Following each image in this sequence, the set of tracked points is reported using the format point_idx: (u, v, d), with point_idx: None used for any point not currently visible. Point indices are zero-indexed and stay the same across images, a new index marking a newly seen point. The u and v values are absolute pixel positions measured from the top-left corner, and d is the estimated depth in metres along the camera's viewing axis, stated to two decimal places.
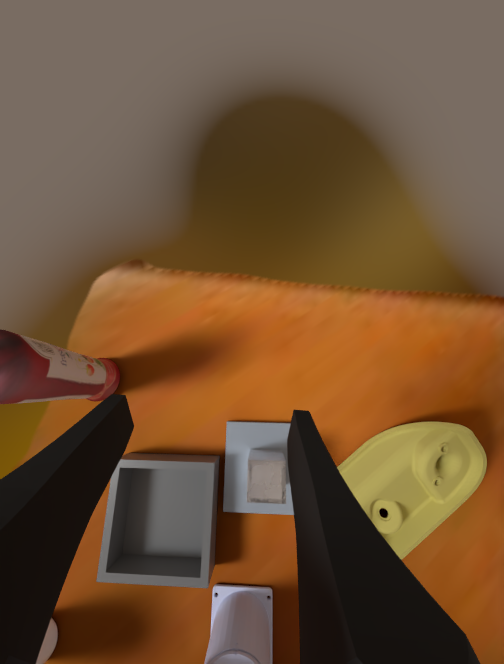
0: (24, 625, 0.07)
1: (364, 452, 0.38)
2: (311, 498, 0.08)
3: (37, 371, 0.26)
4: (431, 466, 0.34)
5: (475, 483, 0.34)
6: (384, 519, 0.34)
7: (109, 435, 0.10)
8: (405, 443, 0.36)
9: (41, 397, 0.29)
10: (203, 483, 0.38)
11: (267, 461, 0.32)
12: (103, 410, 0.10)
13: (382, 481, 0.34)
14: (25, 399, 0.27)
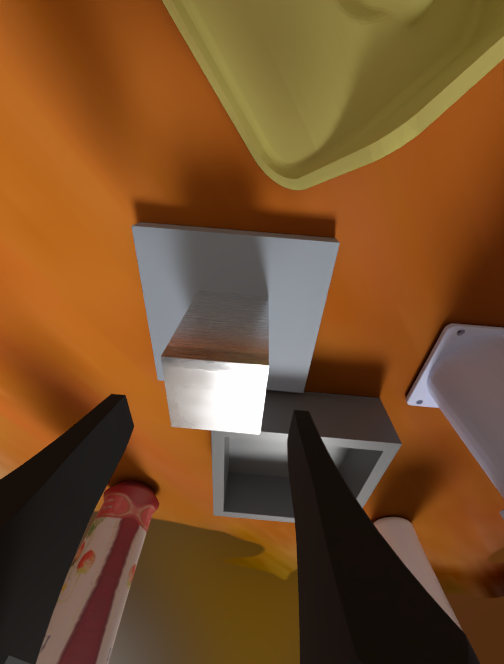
0: (24, 625, 0.07)
1: (188, 4, 0.11)
2: (311, 498, 0.08)
3: None
4: None
5: None
6: None
7: (109, 435, 0.10)
8: None
9: (91, 663, 0.21)
10: None
11: (168, 393, 0.12)
12: (103, 410, 0.10)
13: None
14: None
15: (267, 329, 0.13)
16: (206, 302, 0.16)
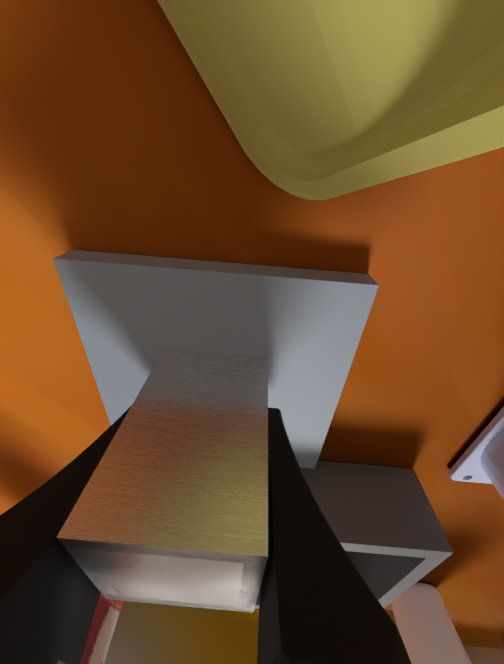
0: (71, 629, 0.07)
1: None
2: (270, 494, 0.08)
3: None
4: None
5: None
6: None
7: None
8: None
9: None
10: None
11: (89, 572, 0.07)
12: None
13: None
14: None
15: (265, 437, 0.08)
16: (172, 374, 0.10)
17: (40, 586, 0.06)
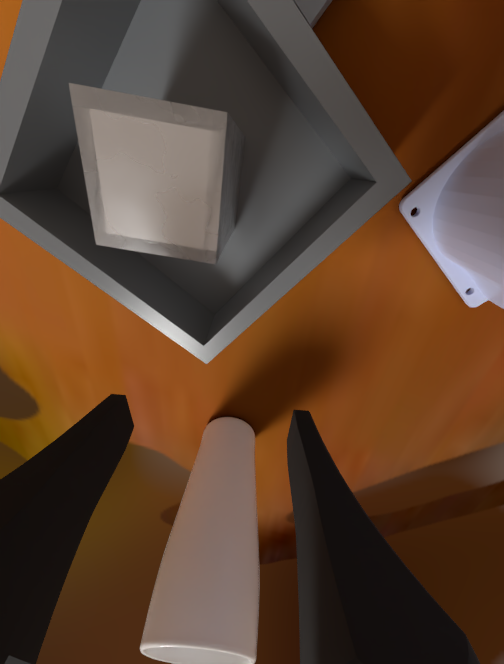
0: (24, 625, 0.07)
1: None
2: (311, 498, 0.08)
3: None
4: None
5: None
6: None
7: (109, 435, 0.10)
8: None
9: None
10: (206, 37, 0.12)
11: (87, 172, 0.09)
12: (103, 410, 0.10)
13: None
14: None
15: (235, 125, 0.10)
16: None
17: None
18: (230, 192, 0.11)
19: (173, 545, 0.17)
